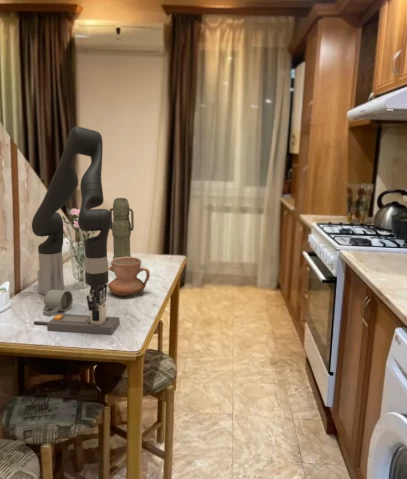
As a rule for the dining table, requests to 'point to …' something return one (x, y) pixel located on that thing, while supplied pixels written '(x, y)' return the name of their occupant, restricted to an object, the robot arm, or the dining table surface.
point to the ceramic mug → (57, 301)
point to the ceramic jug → (127, 276)
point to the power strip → (80, 324)
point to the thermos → (121, 227)
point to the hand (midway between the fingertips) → (98, 317)
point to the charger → (100, 313)
